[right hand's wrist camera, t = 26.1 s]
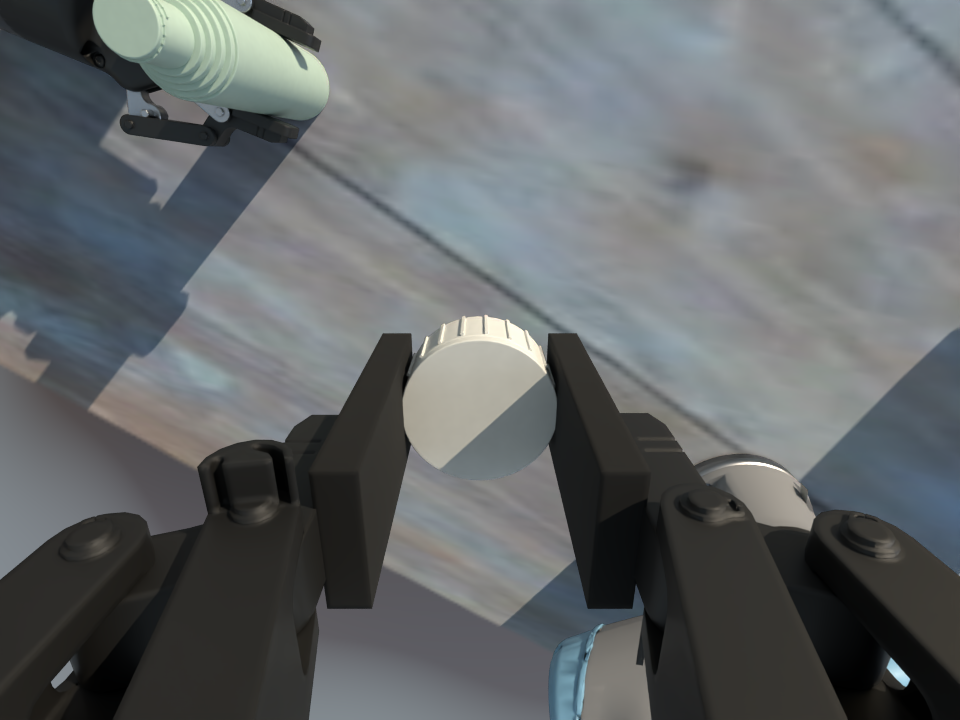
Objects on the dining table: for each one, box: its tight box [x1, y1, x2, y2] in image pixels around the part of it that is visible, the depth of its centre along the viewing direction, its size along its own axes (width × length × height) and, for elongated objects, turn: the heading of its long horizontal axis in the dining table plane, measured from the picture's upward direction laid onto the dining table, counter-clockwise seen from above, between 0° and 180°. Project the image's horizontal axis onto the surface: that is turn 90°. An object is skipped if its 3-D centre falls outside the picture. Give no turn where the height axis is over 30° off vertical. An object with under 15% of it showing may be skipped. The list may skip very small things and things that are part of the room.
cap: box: [402, 315, 557, 480], centre depth 13 cm, size 4×4×2 cm
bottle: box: [92, 0, 329, 120], centre depth 30 cm, size 5×5×21 cm
